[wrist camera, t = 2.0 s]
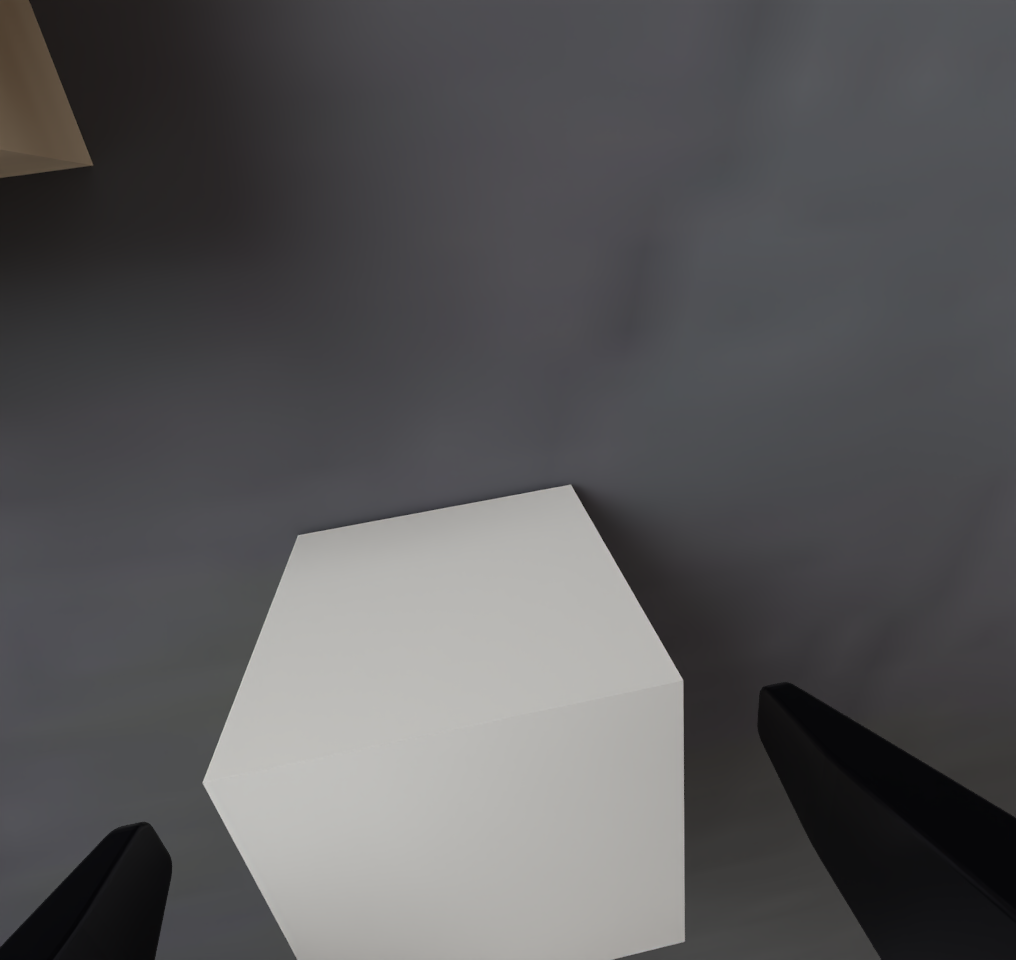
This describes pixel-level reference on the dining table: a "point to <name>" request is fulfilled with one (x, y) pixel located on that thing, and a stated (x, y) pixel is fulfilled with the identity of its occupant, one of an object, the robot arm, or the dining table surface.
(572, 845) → the white cube
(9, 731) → the dining table surface
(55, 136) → the oak base
